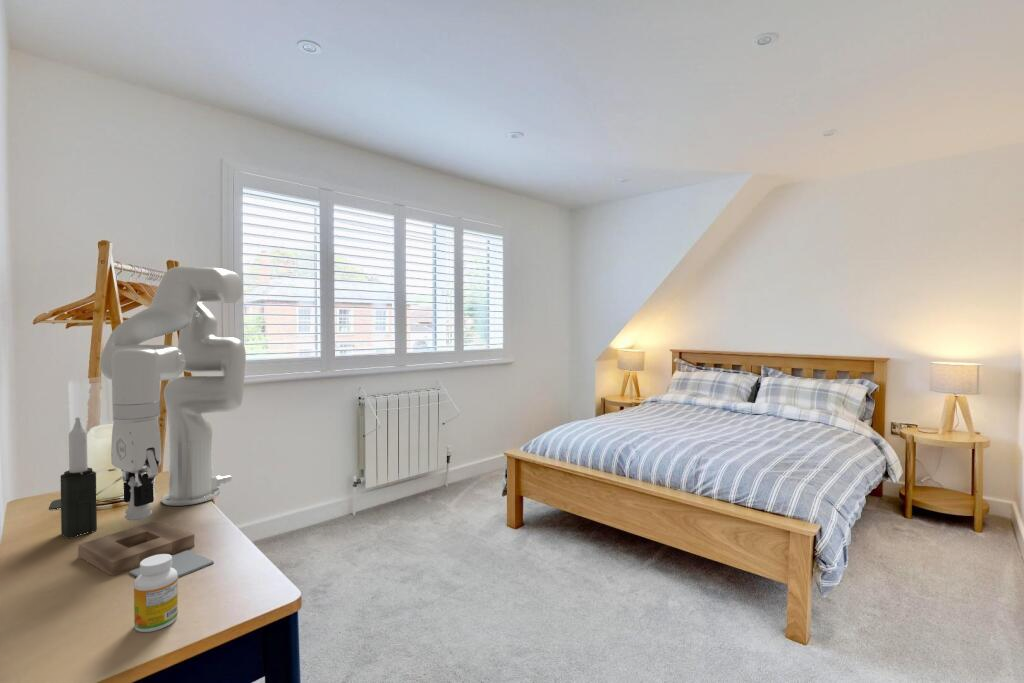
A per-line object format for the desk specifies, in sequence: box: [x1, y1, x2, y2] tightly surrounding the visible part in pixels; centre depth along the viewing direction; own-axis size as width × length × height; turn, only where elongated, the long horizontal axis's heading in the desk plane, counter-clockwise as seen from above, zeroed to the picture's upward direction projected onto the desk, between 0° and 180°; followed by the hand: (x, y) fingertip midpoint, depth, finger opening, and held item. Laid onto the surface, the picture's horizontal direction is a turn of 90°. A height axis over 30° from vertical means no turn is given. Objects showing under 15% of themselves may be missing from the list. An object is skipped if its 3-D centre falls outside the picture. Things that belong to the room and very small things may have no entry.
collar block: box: [77, 520, 195, 577], centre depth 99 cm, size 14×14×2 cm
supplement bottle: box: [133, 554, 179, 633], centre depth 75 cm, size 5×5×10 cm
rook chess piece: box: [124, 474, 153, 522], centre depth 99 cm, size 4×4×8 cm
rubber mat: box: [128, 549, 215, 578], centre depth 92 cm, size 10×9×1 cm
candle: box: [60, 417, 98, 539], centre depth 107 cm, size 5×5×25 cm
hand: (138, 501), depth 99 cm, fingers closed on rook chess piece, 3 cm apart
